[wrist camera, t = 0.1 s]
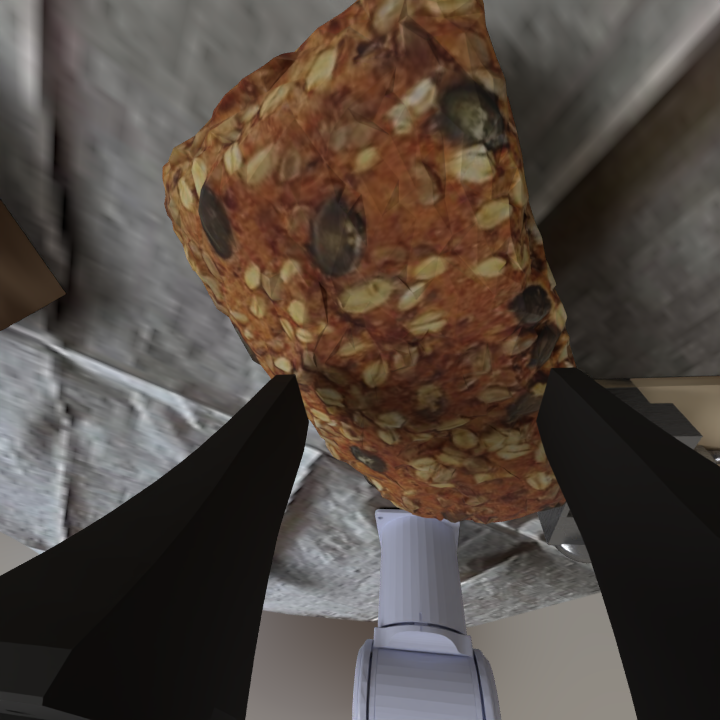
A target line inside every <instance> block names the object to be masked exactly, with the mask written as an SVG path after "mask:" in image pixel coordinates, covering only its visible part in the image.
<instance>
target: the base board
mask: <svg viewBox="0 0 720 720" xmlns="http://www.w3.org/2000/svg"><path fill="white" fill-rule="evenodd" d="M597 380H598V379H596V380H595V381H596V382H597ZM614 380H615V379H613V380H612V379H610V380H607V381H606V379H605V381H606V382H605V381H604V379H603V381H604V382H603V381H602V379H601V381H600V380H598V381H599V382H600V383H599V384H600V385H601V386H603V387H604V388H612V387H614V388H617V387H618V388H620V387H628V386H626V385H627V382H628V381H627V382H626V384H625V381H624V379H623V381H624V383H623V381H620V382H622V384H623V386H622V384H618V383H619V381H618V379H616V380H617V381H616V380H615V381H616V382H614V384H613V385H611V384H612V383H611V382H613V381H614ZM630 380H631V383H629V384H630V385H631V386H632V387H633V386H634V387H637V388H638V389H639V390H640V392H641V393H642V394H643V395H644V396H645V398H646V399H647V400H648V401H649V402H650V403H673V404H674V405H675V406H676V407H677V409H678V410H679V411H680V412H681V413H682V414H683V415H684V416H685V417H686V418H687V419H688V421H689V422H690V423H691V424H692V425H693V426H694V427H695V428H696V429H697V430H698V431H699V432H700V434H701V435H702V436H703V437H702V438H701V440H700V441H699V443H698V444H697V445H702V446H703V447H704V448H705V449H706V450H720V376H701V377H666V378H631V379H630ZM630 380H629V382H630ZM609 381H611V382H609ZM607 382H608V383H607ZM617 382H618V383H617ZM597 383H598V382H597ZM603 383H606V384H603ZM615 383H617V384H615ZM602 384H603V385H602ZM607 384H608V385H607ZM629 384H628V385H629ZM632 384H633V385H632ZM634 384H635V385H634ZM620 385H621V386H620ZM624 385H625V386H624ZM630 385H629V387H631V386H630ZM610 386H611V387H610ZM615 386H616V387H615ZM619 386H620V387H619ZM717 465H719V466H720V464H717Z"/></svg>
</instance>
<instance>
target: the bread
mask: <svg viewBox="0 0 720 720" xmlns="http://www.w3.org/2000/svg"><path fill="white" fill-rule="evenodd" d="M163 183H164V186H165V195H166V197H165V203H164V205H165V208H166V211H167V215H168V216H169V218H170V219H171V220H172V223H173V230H174V232H175V233H176V235H177V236H178V238H179V240H180V241H181V243H182V244H183V247H184V251H185V254H186V257H187V260H188V262H189V264H190V265H191V267H192V269H193V271H196V273H197V274H198V276H199V277H200V278H201V280H202V281H203V283H204V285H205V287H206V289H207V291H208V293H209V295H210V297H211V298H212V300H213V302H214V304H215V306H216V308H217V309H218V310H220V311H221V312H222V313H224V314H225V315H227V316H228V317H229V318H230V320H231V322H232V324H233V326H234V328H235V330H236V332H237V333H238V335H239V337H240V339H241V340H242V342H243V344H244V346H245V347H246V349H247V351H248V353H249V354H250V356H251V358H252V360H253V361H254V362H256V363H258V364H260V365H261V366H262V367H263V368H264V370H265V371H266V372H267V374H268V375H269V376H270V378H271V379H272V378H273V377H274V376H275V375H283V374H295V375H296V378H297V382H298V385H299V389H300V392H301V396H302V399H303V402H304V406H305V409H306V413H307V416H308V419H309V420H310V421H311V422H312V424H313V425H314V427H315V428H316V430H317V432H318V433H319V435H320V437H321V438H323V439H324V440H325V442H326V446H327V448H328V449H329V451H330V452H331V454H332V455H333V457H334V458H336V459H338V460H341V461H344V462H347V463H348V464H350V465H351V466H352V467H354V468H355V469H356V470H358V471H359V472H361V473H362V474H363V475H364V477H365V478H366V480H367V481H368V483H369V484H371V485H372V486H374V487H375V488H376V489H377V490H378V491H380V493H381V495H382V497H383V498H386V499H389V500H390V501H391V502H392V503H393V504H394V505H395V506H396V507H398V508H400V509H403V510H405V511H408V512H410V513H412V515H416V516H419V517H423V518H435V519H438V520H439V521H442V520H443V519H446V520H448V521H450V522H452V523H457V522H460V521H463V520H473V521H474V522H478V523H484V524H488V523H491V522H494V523H495V522H502V521H507V520H512V519H516V518H520V517H523V516H526V515H529V514H531V513H534V512H541V511H546V510H550V509H554V508H558V507H561V506H563V505H564V504H566V503H567V502H566V500H565V498H564V495H563V493H562V491H561V489H560V486H559V484H558V482H557V480H556V477H555V475H554V473H553V471H552V468H551V466H550V464H549V461H548V459H547V457H546V454H545V451H544V448H543V444H542V441H541V437H540V434H539V430H538V426H537V423H536V419H537V415H538V412H539V409H540V405H541V402H542V398H543V395H544V391H545V388H546V384H547V381H548V377H549V374H550V370H551V368H570V367H576V364H575V361H574V358H573V354H572V351H571V347H570V345H569V338H570V337H569V335H568V333H567V331H566V328H565V323H566V319H567V315H566V313H565V310H564V307H563V305H562V302H561V300H560V298H559V296H558V294H557V292H556V290H555V286H556V282H555V280H554V278H553V275H552V273H551V270H550V268H549V265H548V263H547V261H546V258H545V252H544V247H543V241H542V236H541V234H540V232H539V230H538V228H537V226H536V223H535V220H534V217H533V214H532V211H531V207H530V204H529V194H528V189H527V185H526V180H525V174H524V166H523V158H522V153H521V148H520V143H519V139H518V134H517V130H516V126H515V122H514V118H513V115H512V111H511V107H510V103H509V99H508V97H507V92H506V80H505V77H504V75H503V72H502V70H501V68H500V65H499V63H498V60H497V58H496V55H495V52H494V49H493V46H492V43H491V40H490V37H489V34H488V31H487V28H486V22H485V12H484V3H483V0H357V1H356V2H355V3H354V4H352V5H351V6H350V7H349V8H347V9H346V10H345V11H344V12H342V13H341V14H339V15H338V16H336V17H334V18H333V19H331V20H330V21H328V22H327V23H325V24H323V25H322V26H320V27H319V28H317V29H316V30H315V31H314V32H313V33H312V34H311V36H310V37H309V38H308V39H307V40H306V41H305V42H304V43H303V44H302V45H301V46H300V47H299V48H298V49H297V50H296V51H295V52H291V53H285V54H281V55H279V56H277V57H275V58H273V59H272V60H270V61H269V62H268V63H267V64H265V65H264V66H262V67H261V68H259V69H258V70H256V71H254V72H253V73H251V74H250V75H248V76H246V77H245V78H243V79H242V80H241V81H240V82H239V83H238V84H237V85H236V86H235V87H234V88H232V89H231V90H230V91H229V92H228V93H226V94H225V96H224V97H223V98H222V100H221V101H220V103H219V104H218V105H217V107H216V108H215V109H214V111H213V115H212V118H211V119H210V120H209V121H208V122H207V123H206V125H205V126H204V127H203V128H202V129H201V130H200V131H199V132H198V133H197V134H196V136H194V137H192V138H190V139H189V140H187V141H185V142H183V143H182V144H180V145H178V146H176V147H175V148H173V151H172V153H171V156H170V158H169V162H168V163H166V164H165V165H164V166H163Z"/></svg>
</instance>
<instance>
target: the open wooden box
mask: <svg viewBox="0 0 720 720" xmlns="http://www.w3.org/2000/svg"><path fill="white" fill-rule="evenodd" d="M65 294H66V293H65V291H64V290H63V289H62V287H61V286H60V284H59V283H58V281H57V280H56V279H55V277H54V276H53V274H52V273H51V271H50V270H49V269H48V267H47V266H46V264H45V263H44V261H43V260H42V259H41V257H40V256H39V254H38V253H37V251H36V250H35V249H34V247H33V246H32V244H31V243H30V241H29V240H28V238H27V237H26V236H25V234H24V233H23V231H22V230H21V228H20V227H19V226H18V224H17V223H16V221H15V220H14V218H13V217H12V216H11V214H10V213H9V211H8V210H7V208H6V207H5V206H4V204H3V203H2V201H1V200H0V331H1V330H3V329H5V328H7V327H9V326H10V325H12V324H14V323H16V322H18V321H19V320H21V319H23V318H25V317H27V316H29V315H30V314H32V313H34V312H36V311H38V310H39V309H41V308H43V307H45V306H47V305H48V304H49V303H51V302H53V301H54V300H56V299H58V298H60V297H62V296H64V295H65Z"/></svg>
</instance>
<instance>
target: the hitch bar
mask: <svg viewBox="0 0 720 720" xmlns="http://www.w3.org/2000/svg"><path fill="white" fill-rule="evenodd" d="M598 380H600V381H601V379H598ZM598 380H597V382H598V383H600V382H599V381H598ZM607 380H610V379H606V381H607ZM612 380H613V379H612ZM615 380H616V379H615ZM615 380H614V381H613V382H611V381H609V382H611V383H612V384H611V385H613V384H614V382H616V381H617V380H616V381H615ZM629 380H630V379H624V381H625V384H626V382H627V381H628V382H627V385H626V386H628V387H620V386H621V385H620V386H619V387H620V388H618V387H617V388H614V387H612V388H605V389H607V390H608V391H610V392H611V393H612V394H614V395H615V396H616V397H618V398H619V399H621V400H622V401H623V402H625V403H626V404H627V405H629V406H630V407H632V408H633V409H634V410H636V411H637V412H639V413H640V414H641V415H643V416H644V417H646V418H647V419H648V420H650V421H651V422H653V423H654V424H656V425H657V426H658V427H660V428H661V429H663V430H664V431H666V432H667V433H669V434H670V435H672V436H673V437H675V438H676V439H678V440H679V441H681V442H682V443H684V444H686V445H687V446H689V447H690V448H692V449H693V450H695V451H696V452H698V453H699V454H701V455H703V456H704V457H706V458H707V459H709V460H710V461H712V462H714V463H716V462H717V461H716V460H715V459H714V458H713V457H712V456H711V455H710V453H709V452H708V451H707V450H706V449H705V448H704V447H703V446H702V445H697V444H698V443H699V441H700V440H701V438H702V437H703V436H702V435H701V434H700V432H699V431H698V430H697V429H696V428H695V427H694V426H693V425H692V424H691V423H690V422H689V421H688V419H687V418H686V417H685V416H684V415H683V414H682V413H681V412H680V411H679V410H678V409H677V407H676V406H675V405H674V404H673V403H650V402H649V401H648V400H647V399H646V398H645V396H644V395H643V394H642V393H641V392H640V390H639V389H638V388H637V387H634V386H633V387H632V386H631V385H630V384H629V383H631V380H630V382H629ZM602 381H603V379H602ZM604 381H605V379H604ZM604 381H603V382H604ZM606 381H605V382H606ZM618 381H619V383H618V382H617V383H618V384H622V382H620V381H623V379H618ZM624 381H623V383H624ZM607 383H608V382H607ZM617 383H615V384H617ZM603 384H606V383H603ZM603 384H602V385H603ZM628 384H629V385H630V386H631V387H629V385H628ZM607 385H608V384H607ZM632 385H633V384H632ZM634 385H635V384H634ZM622 386H623V384H622ZM624 386H625V385H624ZM610 387H611V386H610ZM615 387H616V386H615ZM537 514H538V517H539V520H540V523H541V526H542V529H543V532H544V535H545V538H546V541H547V544H548V545H554V546H555V547H556V548H557V549H558V550H559V551H560V552H561V553H562V554H564V555H565V556H567V557H569V558H570V559H573V560H575V561H578V562H582V563H591V560H590V557H589V554H588V551H587V549H586V546H585V544H584V541H583V539H582V536H581V534H580V531H579V529H578V527H577V525H576V522H575V520H574V518H573V516H572V513H571V511H570V509H569V507H568V504H567V503H566V504H564V505H563V506H561V507H558V508H554V509H550V510H546V511H541V512H538V513H537Z"/></svg>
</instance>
